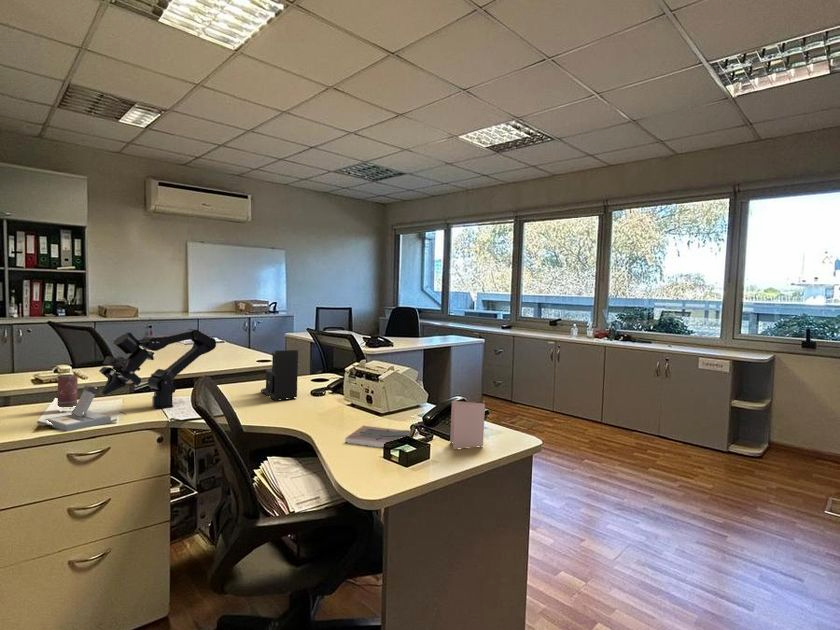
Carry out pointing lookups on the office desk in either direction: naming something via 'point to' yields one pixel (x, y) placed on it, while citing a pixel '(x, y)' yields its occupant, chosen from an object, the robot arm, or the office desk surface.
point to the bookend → (282, 375)
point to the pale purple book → (376, 436)
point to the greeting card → (467, 424)
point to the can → (67, 390)
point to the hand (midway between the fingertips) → (103, 393)
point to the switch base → (79, 421)
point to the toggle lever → (85, 401)
